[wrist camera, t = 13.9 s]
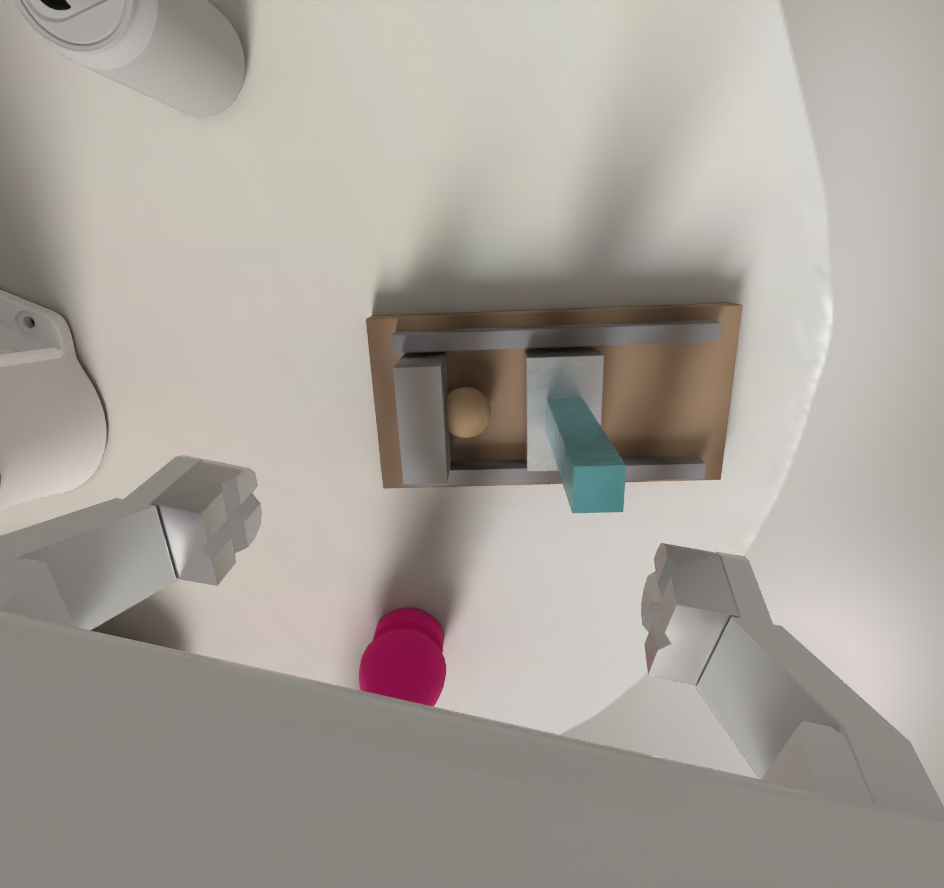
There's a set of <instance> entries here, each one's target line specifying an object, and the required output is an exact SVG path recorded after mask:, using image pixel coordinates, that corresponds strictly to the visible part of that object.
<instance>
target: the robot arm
mask: <svg viewBox="0 0 944 888" xmlns="http://www.w3.org/2000/svg"><path fill="white" fill-rule="evenodd" d="M31 318H32V319H33V320H34V322H35V326H34V325H33V324H32V323H31ZM106 436H107V431H106V420H105V415H104V411H103V407H102V404H101V401H100V399H99V397H98V394H97V392H96V390H95V388H94V386H93V385H92V383H91V381H90V380H89V378H88V376H87V375H86V373H85V372H84V370H83V369H82V367H81V365H80V363H79V362H78V359H77V357H76V353H75V348H74V344H73V339H72V336H71V332H70V329H69V327H68V324H67V323H66V321H65V320H64V318H63V317H62V316H61V315H59V314H58V313H56V312H54V311H52V310H50V309H47V308H45V307H42V306H40V305H37V304H35V303H32V302H30V301H28V300H25V299H23V298H20V297H18V296H15V295H13V294H10V293H8V292H6V291H3V290H1V289H0V510H3V509H5V508H8V507H11V506H14V505H17V504H20V503H23V502H26V501H30V500H33V499H37V498H42V497H46V496H52V495H58V494H62V493H65V492H68V491H70V490H72V489H75V488H76V487H78V486H80V485H81V484H83V483H84V482H85V481H86V480H88V479H89V478H90V476H91V475H92V474H93V473H94V472H95V470H96V469H97V467H98V466H99V464H100V462H101V459H102V457H103V454H104V450H105V446H106ZM257 486H258V485H257V480H256V475H255V472H254V471H252V470H251V469H250V468H245V467H240V466H235V465H231V464H226V463H221V462H216V461H211V460H204V459H200V458H195V457H190V456H184V455H183V456H178V457H175V458H174V459H173V460H171V461H170V462H169V463H168V464H166V465H165V466H164V467H163V468H161V469H160V470H159V471H158V472H157V473H155V474H154V475H153V476H152V477H150V478H149V479H148V480H147V481H146V482H144V483H143V484H142V485H141V486H139V487H138V488H137V489H136V490H134V491H133V492H132V493H131V494H130V495H128V496H127V497H126V498H125V499H118V498H115V499H112V500H109V501H106V502H103V503H100V504H97V505H94V506H91V507H88V508H85V509H82V510H78V511H75V512H72V513H69V514H66V515H63V516H60V517H57V518H54V519H51V520H48V521H45V522H42V523H39V524H36V525H33V526H30V527H27V528H24V529H21V530H17V531H14V532H11V533H8V534H5V535H2V536H0V888H944V807H943V804H942V803H941V800H940V799H939V797H938V795H937V793H936V791H935V789H934V787H933V785H932V783H931V781H930V780H929V777H928V776H927V773H926V772H925V770H924V768H923V766H922V764H921V762H920V760H919V758H918V756H917V754H916V752H915V750H914V748H913V746H912V745H911V743H910V741H908V739H906V738H905V737H904V736H903V735H902V734H901V733H900V732H899V731H898V730H896V729H895V728H894V727H893V726H892V725H891V724H890V723H888V721H886V720H885V719H884V718H883V717H882V716H881V715H879V713H878V712H876V711H875V710H874V709H873V708H872V707H871V706H870V705H869V704H867V703H866V702H865V701H864V700H863V699H862V698H861V697H859V695H857V694H856V693H855V692H854V691H853V690H852V689H851V688H850V687H849V686H848V685H847V684H845V683H844V682H843V681H842V680H841V679H840V678H839V677H837V676H836V675H835V674H834V673H833V672H832V671H831V670H830V669H829V668H827V667H826V666H825V665H824V664H823V663H822V662H821V661H820V660H819V659H818V658H817V657H815V656H814V655H813V654H812V653H811V652H810V651H809V650H808V649H806V648H805V647H804V646H803V645H802V644H801V643H800V642H799V641H798V640H797V639H795V638H794V637H793V636H792V635H791V634H790V633H789V632H788V631H787V630H785V629H784V628H783V627H782V626H779V625H774V624H773V623H772V620H771V618H770V615H769V612H768V610H767V607H766V604H765V602H764V599H763V597H762V594H761V591H760V589H759V586H758V583H757V581H756V578H755V576H754V573H753V570H752V568H751V565H750V562H749V560H748V559H747V558H746V557H745V556H739V555H732V554H726V553H720V552H716V553H714V552H709V551H703V550H698V549H692V548H686V547H681V546H675V545H669V544H664V543H661V544H660V546H659V547H658V549H657V552H656V554H655V557H654V563H655V570H656V571H655V572H653V573H652V574H650V575H649V576H648V577H647V580H646V583H645V586H644V590H643V596H642V603H641V616H642V625H643V626H644V627H645V629H646V630H647V631H648V632H649V634H648V636H647V639H646V642H645V652H646V661H647V669H648V675H651V676H655V677H659V678H663V679H668V680H672V681H676V682H680V683H685V684H689V685H693V686H697V687H696V689H697V691H698V692H699V694H700V695H701V697H702V698H703V699H704V701H705V702H706V704H707V705H708V707H709V708H710V709H711V711H712V712H713V714H714V715H715V717H716V718H717V720H718V721H719V722H720V724H721V725H722V727H723V728H724V730H725V731H726V732H727V734H728V735H729V737H730V738H731V740H732V741H733V743H734V744H735V745H736V747H737V748H738V750H739V751H740V753H741V754H742V755H743V757H744V758H745V760H746V761H747V763H748V764H749V766H750V767H751V768H752V770H753V771H754V773H755V774H756V776H757V777H758V778H759V779H756V778H751V777H747V776H742V775H738V774H733V773H728V772H724V771H720V770H715V769H711V768H706V767H702V766H697V765H692V764H688V763H683V762H679V761H675V760H670V759H665V758H661V757H656V756H652V755H647V754H643V753H639V752H634V751H630V750H625V749H621V748H616V747H612V746H607V745H603V744H598V743H594V742H589V741H585V740H580V739H575V738H571V737H567V736H562V735H558V734H553V733H549V732H545V731H540V730H536V729H531V728H527V727H522V726H518V725H513V724H509V723H504V722H500V721H495V720H491V719H486V718H482V717H477V716H473V715H468V714H464V713H459V712H455V711H450V710H446V709H441V708H437V707H432V706H428V705H423V704H419V703H414V702H410V701H405V700H401V699H396V698H392V697H387V696H383V695H378V694H374V693H369V692H365V691H360V690H356V689H351V688H347V687H342V686H338V685H333V684H329V683H324V682H320V681H315V680H311V679H306V678H302V677H297V676H293V675H288V674H284V673H279V672H275V671H270V670H266V669H261V668H257V667H252V666H248V665H243V664H239V663H234V662H230V661H225V660H221V659H216V658H212V657H207V656H203V655H198V654H194V653H189V652H185V651H180V650H176V649H171V648H167V647H162V646H158V645H153V644H149V643H144V642H140V641H135V640H131V639H126V638H122V637H117V636H113V635H108V634H104V633H99V632H95V631H90V630H92V629H94V628H95V627H97V626H99V625H101V624H102V623H104V622H106V621H108V620H109V619H111V618H113V617H115V616H116V615H118V614H120V613H122V612H123V611H125V610H127V609H128V608H130V607H132V606H134V605H135V604H137V603H139V602H141V601H142V600H144V599H146V598H148V597H149V596H151V595H153V594H155V593H156V592H158V591H160V590H161V589H163V588H165V587H167V586H168V585H170V584H172V583H174V582H175V581H176V579H182V580H187V581H193V582H199V583H204V584H210V585H216V586H218V584H219V583H220V582H221V581H222V579H223V578H224V577H225V576H226V574H227V573H228V572H229V571H230V569H231V568H232V567H233V566H234V564H235V563H236V557H235V553H237V552H239V551H241V550H243V549H245V548H247V547H249V545H250V544H251V543H252V541H253V540H254V539H255V537H256V535H257V532H258V529H259V527H260V524H261V514H262V512H261V505H260V502H259V501H258V500H257V499H256V497H255V496H254V495H253V494H252V492H253V491H254V490H255V489H256V487H257Z"/></svg>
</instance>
